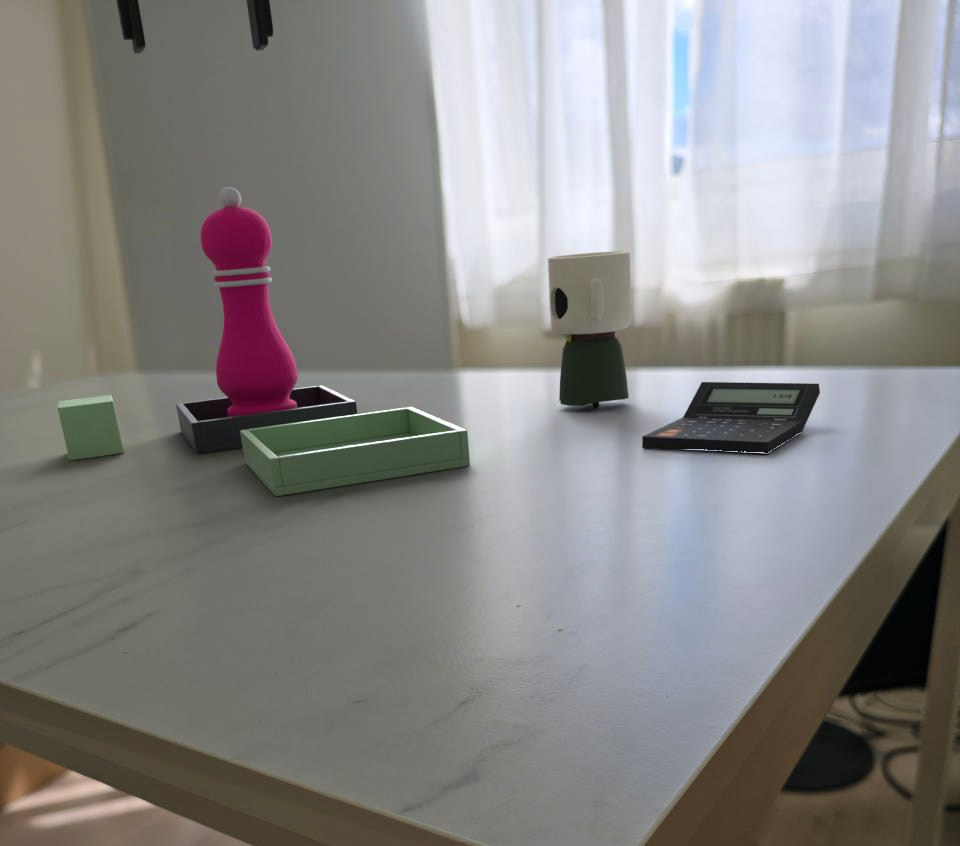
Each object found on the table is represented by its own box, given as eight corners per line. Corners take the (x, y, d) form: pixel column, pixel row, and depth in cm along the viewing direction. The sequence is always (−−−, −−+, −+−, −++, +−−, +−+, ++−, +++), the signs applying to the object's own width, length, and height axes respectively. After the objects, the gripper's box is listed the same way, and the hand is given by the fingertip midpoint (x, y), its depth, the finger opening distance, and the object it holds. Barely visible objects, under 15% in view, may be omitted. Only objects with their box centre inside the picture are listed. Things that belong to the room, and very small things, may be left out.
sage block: (69, 460, 87) (57, 407, 86) (69, 452, 91) (57, 401, 90) (123, 453, 89) (113, 400, 87) (121, 445, 93) (110, 394, 91)
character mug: (550, 400, 98) (543, 256, 93) (624, 394, 98) (621, 249, 93) (559, 420, 88) (552, 259, 83) (642, 413, 88) (639, 252, 83)
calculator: (642, 448, 75) (641, 406, 74) (703, 418, 84) (703, 381, 83) (767, 454, 70) (768, 410, 69) (818, 422, 79) (820, 382, 78)
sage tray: (275, 496, 69) (269, 458, 68) (245, 462, 81) (239, 430, 80) (470, 465, 74) (467, 430, 73) (415, 438, 85) (412, 406, 84)
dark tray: (196, 454, 86) (191, 423, 85) (180, 431, 97) (175, 403, 96) (359, 430, 90) (356, 401, 89) (325, 411, 102) (322, 385, 101)
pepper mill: (244, 418, 98) (208, 191, 90) (315, 415, 96) (284, 184, 89) (211, 433, 91) (169, 189, 84) (286, 430, 90) (250, 182, 82)
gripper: (267, -189, 82) (297, 54, 88) (37, -200, 76) (88, 60, 83) (285, -228, 75) (316, 38, 82) (35, -244, 70) (90, 42, 76)
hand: (201, 49), depth 82 cm, fingers open, 9 cm apart
